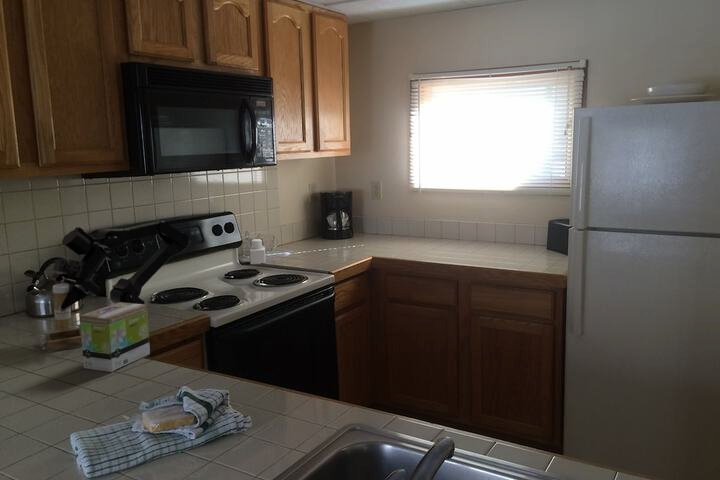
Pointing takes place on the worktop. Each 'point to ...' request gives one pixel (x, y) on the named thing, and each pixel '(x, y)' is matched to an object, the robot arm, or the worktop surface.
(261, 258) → the medicine bottle
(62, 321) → the sprinkles bottle
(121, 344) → the tea box
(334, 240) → the worktop surface
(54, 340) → the square wooden tray
